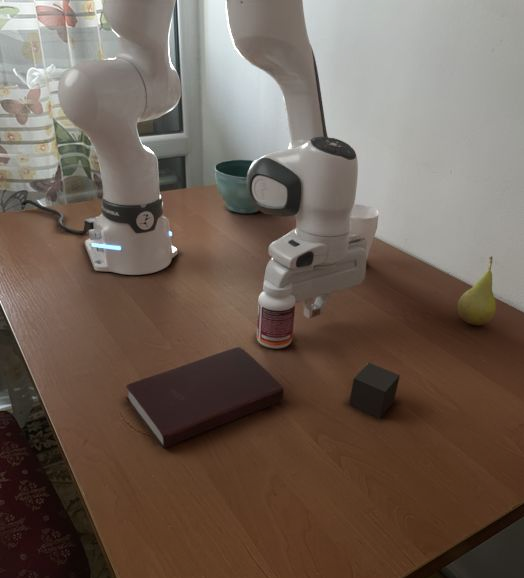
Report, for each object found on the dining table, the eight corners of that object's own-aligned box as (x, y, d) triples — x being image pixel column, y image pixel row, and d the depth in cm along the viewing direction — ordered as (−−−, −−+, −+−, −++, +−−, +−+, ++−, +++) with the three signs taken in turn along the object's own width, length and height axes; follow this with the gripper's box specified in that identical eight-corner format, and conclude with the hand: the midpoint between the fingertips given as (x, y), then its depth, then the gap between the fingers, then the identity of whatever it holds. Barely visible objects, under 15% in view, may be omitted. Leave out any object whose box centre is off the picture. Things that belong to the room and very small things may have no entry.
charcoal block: (348, 404, 81) (353, 377, 78) (364, 388, 84) (369, 362, 82) (379, 418, 79) (385, 391, 76) (393, 401, 82) (400, 375, 79)
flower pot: (285, 209, 150) (288, 169, 144) (243, 223, 140) (245, 181, 134) (244, 194, 159) (245, 156, 153) (202, 206, 149) (201, 166, 143)
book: (283, 403, 80) (285, 386, 79) (164, 452, 71) (162, 433, 69) (238, 361, 89) (238, 344, 87) (125, 400, 79) (123, 382, 77)
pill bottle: (299, 343, 94) (305, 286, 88) (269, 353, 91) (273, 295, 85) (278, 327, 98) (282, 271, 92) (249, 336, 95) (251, 279, 89)
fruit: (452, 326, 102) (468, 267, 95) (455, 308, 107) (471, 251, 101) (489, 334, 100) (509, 275, 93) (491, 316, 106) (509, 258, 99)
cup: (352, 275, 118) (360, 222, 111) (321, 260, 123) (328, 209, 116) (378, 265, 123) (388, 213, 116) (348, 251, 128) (355, 201, 121)
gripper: (355, 226, 97) (344, 294, 105) (260, 247, 88) (256, 321, 95) (380, 238, 93) (367, 309, 101) (283, 262, 83) (276, 338, 91)
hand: (312, 315), depth 98 cm, fingers closed
